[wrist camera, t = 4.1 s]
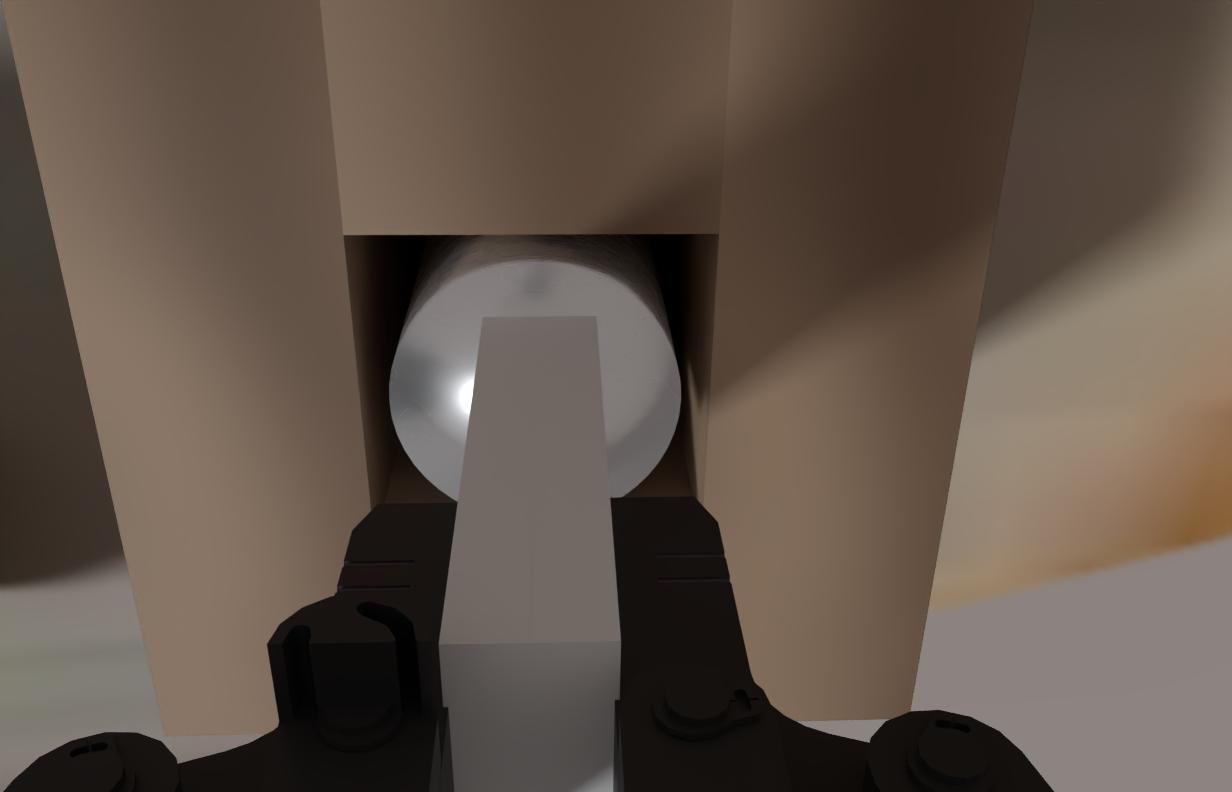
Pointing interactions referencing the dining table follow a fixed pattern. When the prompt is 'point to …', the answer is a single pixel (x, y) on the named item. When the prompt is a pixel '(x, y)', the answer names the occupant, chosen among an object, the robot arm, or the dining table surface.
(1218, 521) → the dining table surface
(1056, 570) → the dining table surface
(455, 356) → the peg
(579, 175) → the tan grooved block
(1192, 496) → the dining table surface
